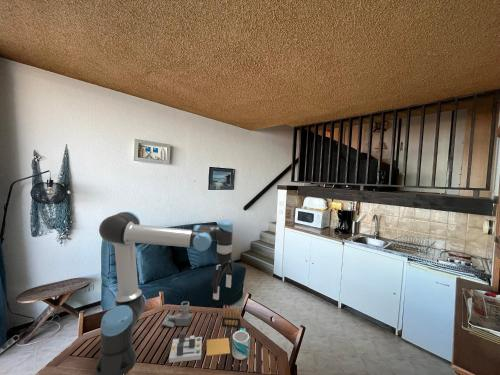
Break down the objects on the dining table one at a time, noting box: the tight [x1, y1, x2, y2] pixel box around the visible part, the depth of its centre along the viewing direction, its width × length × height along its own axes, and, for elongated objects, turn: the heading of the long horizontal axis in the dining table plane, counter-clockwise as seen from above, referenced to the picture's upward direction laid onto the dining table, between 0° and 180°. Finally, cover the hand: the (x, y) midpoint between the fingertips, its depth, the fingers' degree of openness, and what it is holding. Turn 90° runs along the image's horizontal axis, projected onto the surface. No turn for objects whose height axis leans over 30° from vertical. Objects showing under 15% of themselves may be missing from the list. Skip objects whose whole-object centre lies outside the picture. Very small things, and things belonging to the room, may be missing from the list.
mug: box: [231, 327, 251, 361], centre depth 109 cm, size 8×12×8 cm
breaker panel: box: [168, 336, 203, 364], centre depth 107 cm, size 14×12×2 cm
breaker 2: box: [177, 342, 184, 356], centre depth 103 cm, size 3×3×4 cm
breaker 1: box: [178, 330, 186, 343], centre depth 110 cm, size 3×3×4 cm
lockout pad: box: [206, 337, 231, 357], centre depth 110 cm, size 11×10×1 cm
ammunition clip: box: [221, 304, 242, 329], centre depth 126 cm, size 11×2×12 cm, turn 87°
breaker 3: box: [188, 335, 196, 348], centre depth 107 cm, size 3×3×4 cm
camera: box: [160, 301, 193, 329], centre depth 127 cm, size 9×12×15 cm
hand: (222, 292), depth 115 cm, fingers open, 13 cm apart
